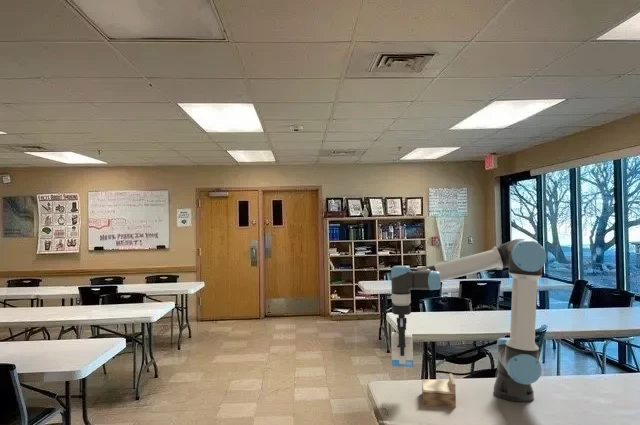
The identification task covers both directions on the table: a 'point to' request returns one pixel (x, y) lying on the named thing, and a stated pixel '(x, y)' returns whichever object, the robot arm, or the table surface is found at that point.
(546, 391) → the table surface
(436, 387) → the lid
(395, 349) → the ink box
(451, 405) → the box
